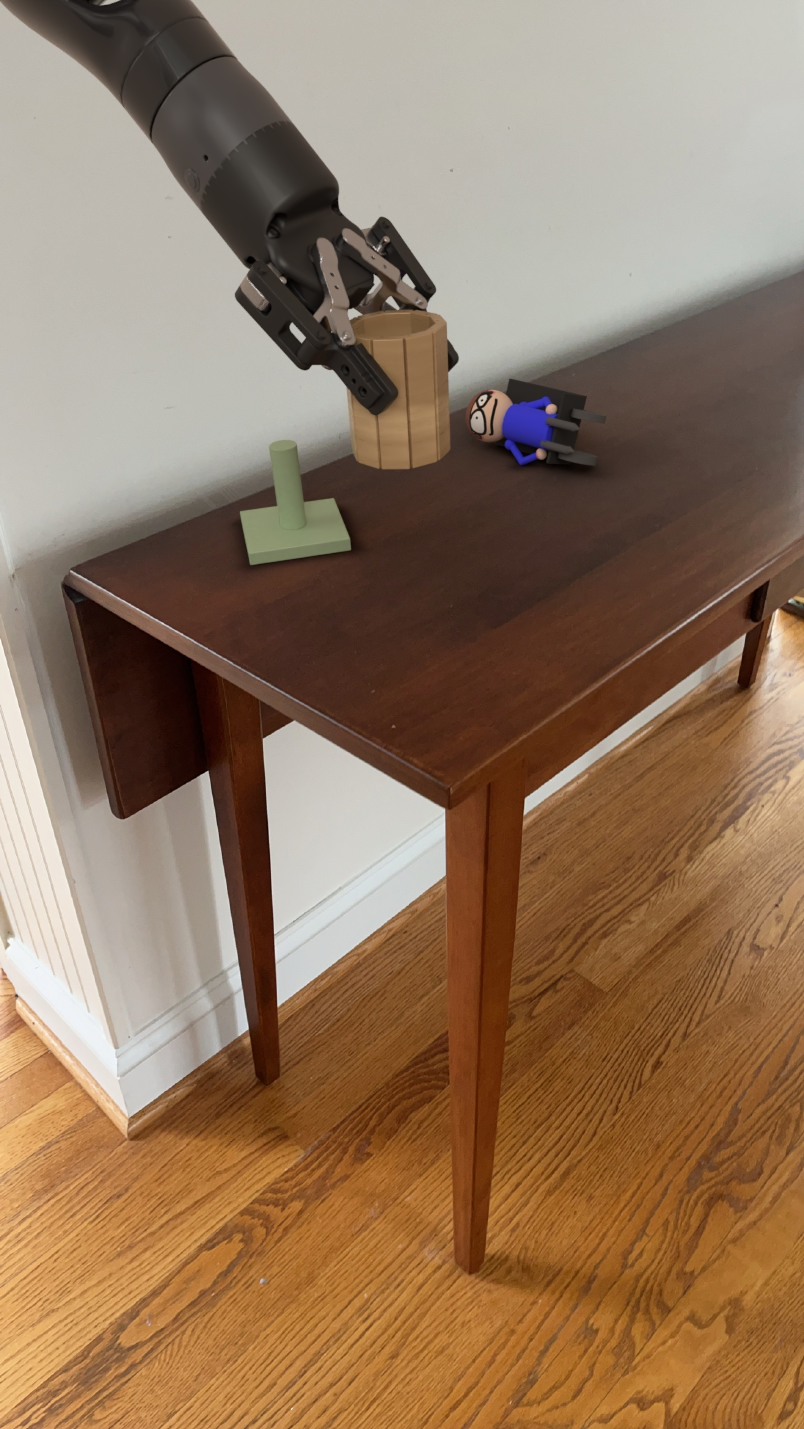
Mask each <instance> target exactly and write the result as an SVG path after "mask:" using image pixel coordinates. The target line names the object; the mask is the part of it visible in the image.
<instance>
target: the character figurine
mask: <svg viewBox="0 0 804 1429" xmlns="http://www.w3.org/2000/svg"><path fill="white" fill-rule="evenodd" d="M587 398H588V397H587V395H584V394H579V393H575V392H570V391H566V390H563V389H557V388H553V387H549V386H545V385H540V384H536V383H532V382H528V381H524V380H520V379H519V380H518V379H514V378H510V377H509V379H508V382H507V387H506V391H505V393H504V392H502V391H500V390H497V389H486V390H482V391H480V392H479V393H477V394H475V395H474V396H473V397H472V398H471V400H470V401H469V403H468V405H467V408H466V411H465V423H466V427H467V429H468V431H469V432H470V434H471V435H472V436H473V437H474V438H475V439H476V440H479V441H481V442H483V443H495V445H496V446H501V447H503V448H505V449H506V450H508V451H510V452H511V453H512V455H513V456H514V458H515V460H516V461H517V463H518V464H519V465H520V466H526V465H527V464H529V463H532V462H535V461H537V460H542V461H543V460H545V459H546V464H551V465H571V464H572V463H575V464H579V465H584V466H585V465H586V466H596V465H597V461H598V455H595V454H592V453H589V452H585V451H580V450H576V449H575V447H576V443H577V439H578V435H579V431H580V430H581V423H582V421H586V422H590V423H591V422H592V423H597V424H606V419H607V415H606V414H603V413H599V412H594V411H590V410H585V407H586V403H587ZM522 453H525V454H529V455H526V456H523V454H522Z"/></svg>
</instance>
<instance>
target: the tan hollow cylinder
mask: <svg viewBox="0 0 804 1429" xmlns="http://www.w3.org/2000/svg"><path fill="white" fill-rule="evenodd" d="M349 320H350V323H351V326H352V329H353V332H354V335H355V338H356V342H355V344H354V346H356V345H358V344H360V343H362V344H363V345H364V347H365V348H366V349H367V351H368V352H369V354H371V356H372V357H373V358H374V359H375V361H376V362H377V363H378V364H379V366H380V367H381V368H382V369H383V371H384V372H385V373H386V375H387V376H388V377H389V378H390V380H391V381H392V382H393V383H394V385H395V386H396V387H397V389H398V397H397V398H396V399H395V400H394V401H393V403H392V404H391V405H390V406H389V407H388V408H387V409H386V410H385V411H384V412H382V413H380V414H378V415H373V414H371V413H370V412H369V411H368V409H366V408H365V407H363V406H362V405H361V404H360V403H359V402H358V401H357V399H356V398H355V396H354V395H353V394H352V393H351V392H350V390H349V389H348V388H347V387H346V386H345V388H346V396H347V408H348V420H349V421H348V422H349V431H350V442H351V452H352V454H353V456H354V458H355V460H356V462H358V464H362V465H364V466H367V467H371V468H374V469H377V470H379V469H381V470H410V469H411V468H412V469H417V468H420V467H424V466H427V465H430V464H434V463H437V462H438V461H441V460H442V459H443V458H444V457H445V456H446V455H447V454H448V453H449V452H450V451H451V421H450V419H451V418H450V385H449V381H450V380H449V372H448V348H447V339H448V323H447V321H446V320H445V319H444V317H443V316H442V315H441V314H438V313H436V312H430V311H427V312H425V311H420V310H415V311H413V310H399V309H397V310H386V311H385V312H383V311H379V312H374V313H370V314H365V315H362V314H360V315H357V316H354V317H352V318H351V319H349Z"/></svg>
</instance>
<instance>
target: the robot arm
mask: <svg viewBox="0 0 804 1429" xmlns="http://www.w3.org/2000/svg"><path fill="white" fill-rule="evenodd" d="M107 1H108V0H0V4H2V6H3V7H4V8H5V9H7V11H9V12H10V14H11V15H12V16H14V17H15V18H17V19H18V20H19V21H20V22H21V23H23V24H24V25H25V26H26V27H28V28H29V29H30V30H32V31H33V32H34V33H36V34H38V35H39V36H40V37H42V38H44V40H45V41H47V42H49V43H50V44H51V45H53V46H55V47H56V48H57V49H59V50H60V51H62V52H63V53H65V54H66V55H67V56H69V57H70V58H71V59H73V60H74V61H75V62H76V63H77V64H79V65H80V66H81V67H82V68H84V69H85V70H86V71H87V72H88V73H90V74H91V75H92V76H94V77H95V78H96V79H97V81H99V82H100V83H101V84H102V85H103V86H104V87H105V88H106V89H107V90H108V91H109V92H110V94H111V95H112V96H113V97H114V98H115V100H117V102H118V103H119V104H120V105H121V107H123V109H124V110H125V111H126V112H127V113H128V116H130V118H131V119H132V120H133V121H134V123H135V124H136V125H137V127H138V128H139V129H140V131H142V132H143V134H144V135H145V137H146V138H147V139H148V140H149V141H150V143H151V144H152V145H153V147H154V148H155V149H156V150H157V152H158V153H159V155H160V156H161V158H162V159H163V161H164V163H165V166H166V167H167V168H168V170H169V171H170V173H171V174H172V176H173V178H174V179H175V180H176V182H177V183H178V185H179V186H180V187H181V189H182V190H183V191H184V192H185V193H186V195H187V196H188V197H189V198H190V200H191V201H192V202H193V204H194V205H195V206H196V207H197V209H198V210H199V211H200V212H201V213H202V215H203V217H204V218H205V219H206V220H207V221H208V223H209V224H210V225H211V226H212V227H213V229H214V230H215V231H216V232H217V233H218V235H219V237H221V239H222V240H223V241H224V242H225V244H226V245H227V247H229V249H230V250H231V251H232V253H233V254H234V255H235V256H236V257H237V259H238V260H239V262H241V264H242V265H243V266H244V267H245V268H246V269H248V271H247V273H246V275H245V276H244V278H243V279H242V281H241V282H240V283H239V285H238V287H237V289H236V291H235V292H234V298H235V301H236V302H237V303H238V304H239V305H240V306H241V308H242V309H243V310H244V311H245V312H246V313H247V314H248V315H249V316H250V317H251V318H252V319H253V321H254V322H255V323H256V324H257V325H258V326H259V327H260V328H261V329H262V330H263V332H264V333H265V334H266V335H267V336H268V337H269V339H271V340H272V341H273V342H274V344H275V345H276V346H277V347H278V348H279V349H280V350H281V351H282V352H283V354H284V355H285V356H286V357H287V358H288V359H289V360H290V361H291V362H292V363H293V364H294V365H295V367H296V368H297V369H299V370H301V371H308V370H310V369H311V368H312V366H321V367H322V368H324V369H325V370H327V371H333V373H335V374H336V375H337V377H338V378H339V380H341V382H342V383H343V384H344V386H345V388H346V387H347V388H348V389H349V390H350V392H351V393H352V394H353V395H354V396H355V398H356V399H357V401H358V402H359V403H360V404H361V405H362V406H363V407H365V408H366V409H368V411H369V412H370V413H371V414H373V415H378V414H380V413H382V412H384V411H385V410H386V409H387V408H388V407H389V406H390V405H391V404H392V403H393V401H394V400H395V399H396V398H397V397H398V389H397V387H396V386H395V385H394V383H393V382H392V381H391V380H390V378H389V377H388V376H387V375H386V373H385V372H384V371H383V369H382V368H381V367H380V366H379V364H378V363H377V362H376V361H375V359H374V358H373V357H372V356H371V354H369V352H368V351H367V349H366V348H365V347H364V345H363V344H362V343H360V344H358V345H356V346H354V344H355V342H356V338H355V335H354V332H353V329H352V326H351V323H350V320H351V319H350V318H349V310H352V309H354V310H355V311H357V312H358V313H359V314H360V315H365V314H370V313H374V312H379V311H383V312H385V311H386V310H413V311H415V310H420V311H425V312H428V310H427V308H428V304H429V302H430V300H431V298H433V296H434V295H435V294H436V292H437V287H436V285H435V283H434V282H433V280H432V279H431V277H430V276H429V274H428V273H427V272H426V270H425V269H424V267H423V266H422V264H421V263H420V261H419V260H418V259H417V257H416V256H415V254H414V253H413V251H412V249H410V247H409V245H408V244H407V243H406V241H405V240H404V239H403V237H402V235H401V234H400V233H399V231H398V230H397V228H396V227H395V225H394V224H393V223H392V221H391V220H390V219H389V218H388V217H385V216H379V217H378V219H377V220H376V221H375V223H374V224H373V225H372V226H371V227H368V228H360V227H359V226H358V225H357V224H355V223H354V222H353V221H351V220H350V219H349V218H347V216H346V215H345V214H343V213H342V211H341V208H340V204H339V195H340V185H339V184H340V183H339V181H338V179H337V177H335V175H334V174H333V172H332V171H331V170H330V168H329V167H328V166H327V165H326V163H325V162H324V161H323V159H322V158H321V157H320V156H319V154H318V153H317V152H316V150H314V148H313V147H312V145H311V144H310V143H309V142H308V140H307V139H306V138H305V137H304V135H303V134H302V132H300V130H299V129H298V128H297V126H296V125H295V123H293V121H292V120H291V118H290V117H289V116H288V115H287V113H286V112H285V110H283V108H282V107H281V106H280V105H279V103H278V102H277V100H276V99H275V97H274V96H273V95H272V94H271V93H270V92H269V91H268V90H267V88H265V86H264V85H263V84H262V83H261V82H260V81H259V79H257V78H256V77H255V76H254V75H253V74H252V73H251V72H250V71H249V70H248V69H247V68H246V67H245V66H244V65H243V64H242V63H241V62H240V61H239V59H238V58H237V56H235V54H234V52H233V51H232V50H231V49H230V47H229V46H228V45H227V43H226V42H225V41H224V39H223V38H222V36H220V34H219V33H218V32H217V31H216V29H215V27H213V25H212V24H211V23H210V22H209V20H208V19H207V18H206V16H205V15H204V14H203V13H202V11H201V10H200V9H199V7H197V5H196V4H195V3H194V2H193V1H192V0H117V1H114V2H111V3H107V4H105V3H106V2H107ZM406 275H407V277H408V279H409V280H410V281H411V282H412V284H413V286H414V288H413V287H412V286H410V285H409V284H408V283H406V282H404V280H403V279H404V277H405V276H406ZM375 276H376V277H377V278H378V279H379V280H380V282H379V283H378V284H377V286H376V287H375V288H374V286H375V285H376V284H375ZM373 288H374V289H373ZM372 289H373V291H372V292H371V290H372ZM369 292H370V293H369ZM390 297H391V298H392V299H393V301H394V302H395V304H396V305H397V306H398V309H397V308H395V307H394V306H392V305H391V304H390V303H389V302H387V300H388V299H389V298H390ZM292 324H293V325H294V326H295V327H296V328H297V330H298V331H299V332H300V333H301V334H302V335H303V336H304V340H303V341H302V342H301V341H300V340H299V338H297V336H296V335H295V334H294V333H293V332H292V330H291V325H292ZM447 348H448V373H449V372H451V370H452V369H453V368H454V367H455V366H456V365H457V364H458V363H459V361H460V356H459V353H458V351H456V349H455V347H454V345H453V344H452V343H451V341H450V340H449V339H448V338H447ZM347 388H346V389H347Z"/></svg>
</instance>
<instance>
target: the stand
mask: <svg viewBox="0 0 804 1429" xmlns="http://www.w3.org/2000/svg"><path fill="white" fill-rule="evenodd" d="M268 449H269V450H268V451H269V456H270V461H271V463H270V464H271V471H272V479H273V483H274V484H273V485H274V493H275V499H276V505H274V506H268V507H267V506H266V507H262V508H261V507H260V508H253V509H246V510H240V511H239V515H240V522H241V528H242V532H243V538H244V542H245V546H246V550H247V556H248V562H249V565H250V566H255V565H262V564H268V563H276V562H282V561H289V560H295V559H301V558H309V557H316V556H322V555H329V554H334V553H335V554H336V553H342V552H348V551H351V550H352V544H351V537H350V535H349V532H348V530H347V526H346V524H345V523H344V520H343V517H342V515H341V513H340V512H341V511H340V510H339V507H338V504H337V502H336V499H335V498H334V497H331V498H324V499H316V500H310V501H309V500H308V501H304V493H303V485H302V476H301V467H300V460H299V451H298V443H297V442H296V441H294V440H292V439H280V440H276V441H273V442H271V443H270V444H269V446H268Z"/></svg>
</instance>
